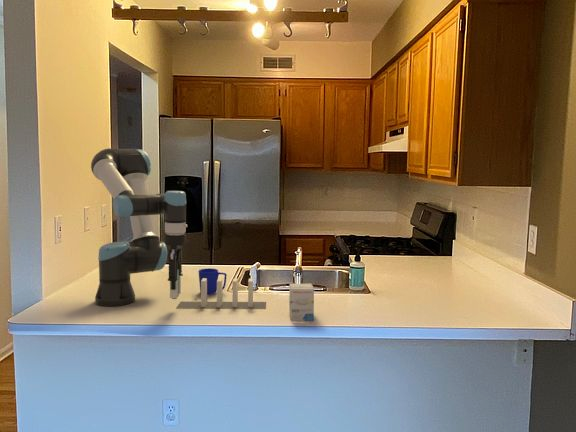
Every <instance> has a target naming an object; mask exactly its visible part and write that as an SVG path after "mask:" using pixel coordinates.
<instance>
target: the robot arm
mask: <svg viewBox="0 0 576 432" xmlns="http://www.w3.org/2000/svg"><path fill="white" fill-rule="evenodd" d="M90 162H91V163H90V169H91V172H92V174H93V176H94V177H95V178H96V179H97V180H98V181H101V182H102V184H103V185H104V187H105V188H106V189H107V191H108V193H109V194H110V196H111V197H112V198H113V201H112V208H113V212H114V214H115V216H117V217H125V218H127V217H128V218H129V220H130V226H131V231H132V236H133V237H132V239H131V240H130V242H129V241H125V240H124V241H114V242H108V243H106V244H104V245H102V246H101V247H99V249H98V257H97V258H98V277H99V281H98V282H99V284H98V287H97V291H96V294H95V297H94V303H95V305H97V306H101V307H120V306H126V305H130V304H132V303H134V302H135V301H136V294H135V291H134V288H133V285H132V282H131V275H133V274H140V273H148V272H155V271H161V270H162V269H163V268H165V266H166V264H167V260H168V278H167V282H169V299H172V298H177V299H178V297H179V296H178V280H177V269H179V295H180V294H181V287H182V286H181V285H182V283H181V282H182V281H181V280H182V278H181V277H182V276H183V275H184V274H183V271H182V270H183V268H182V267H183V263H182V262H183V261H182V258H183V257H182V256H183V254H182V253H183V247H182V246H184V245H186V244H187V243H186V242H187V234H186V231H187V229H186V228H188V224H186V223H187V194H186V192H185V191H183V190H166V192H165V193H154V194H148V192H147V186H146V181H147V180H148V178H149V177H148V176H149V175H151V174H150V173H151V171H152V167H151V166H152V165H151V159H150V157H149V155H148V153H147V152H146V151H145V150H143V149H137V148H105V149H102V150H100V151H98V152H97V153H96V154H95V155H94V156H93V157H92V160H91V161H90ZM154 215H155V216H156V215H157V216H158V215H160V216H161V215H164V233H165V234H164V241H161V240H160V236H159V235H157V234H156V233H155V228H154V224H153V217H152V216H154ZM167 246H169V247H170V249H169V250H168V248H167Z"/></svg>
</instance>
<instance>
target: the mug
mask: <svg viewBox="0 0 576 432" xmlns="http://www.w3.org/2000/svg"><path fill="white" fill-rule="evenodd" d="M220 275H222V276H224V278H223V284H222V291H223V290H224V289H225V288H226V284H227V277H228V276H227V273H226V272H219V269H216V268H210V267H209V268H201V269H199V270H198V281H199V283H198V284H199V290H200V293H201V280H202V279H203V278H207V295H213V294H217V280H218V278H219V276H220Z"/></svg>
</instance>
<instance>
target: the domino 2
mask: <svg viewBox="0 0 576 432" xmlns="http://www.w3.org/2000/svg"><path fill="white" fill-rule="evenodd" d="M222 288H223V278H220V277H218V280H217V291H216V302H217V307H221V306H222V302H223V290H222Z"/></svg>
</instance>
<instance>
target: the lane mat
mask: <svg viewBox="0 0 576 432" xmlns="http://www.w3.org/2000/svg"><path fill="white" fill-rule="evenodd" d="M175 309H177V310H188V309H189V310H190V309H191V310H199V309H200V310H202V309H203V310H239V309H240V310H266V309H267V301H253V306H252V307H248V301H238V304H237V307H233V301H222V306H221V307H217V301H207V305H206V307H201V301H183V300H182V301H179V303H178V304H177V306H176V308H175Z"/></svg>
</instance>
